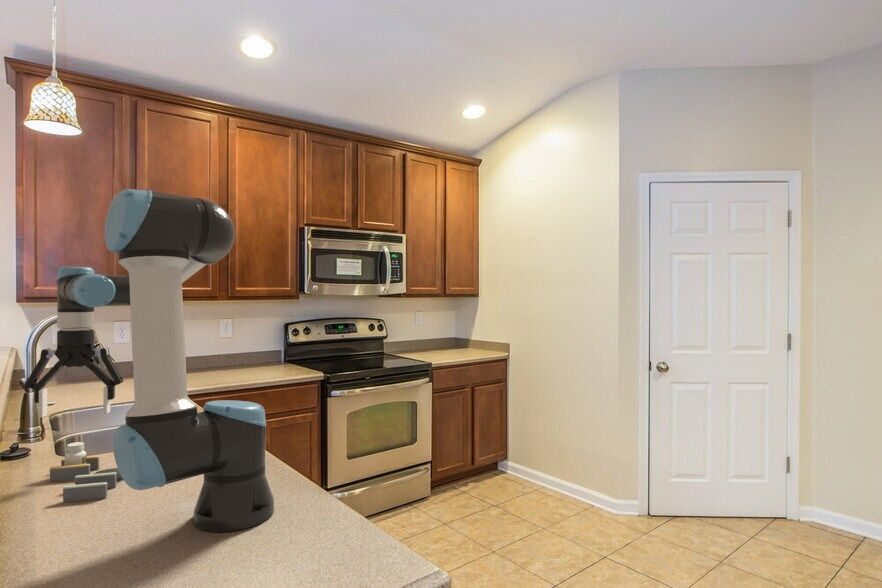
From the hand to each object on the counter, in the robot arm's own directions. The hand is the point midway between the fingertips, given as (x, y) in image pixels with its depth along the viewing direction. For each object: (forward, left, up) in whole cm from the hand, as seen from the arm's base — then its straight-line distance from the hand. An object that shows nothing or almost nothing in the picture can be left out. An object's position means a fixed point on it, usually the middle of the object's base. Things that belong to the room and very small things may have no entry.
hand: (75, 414), depth 127 cm
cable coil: (-6, -9, -15) cm, 19 cm away
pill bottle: (0, 0, -15) cm, 15 cm away
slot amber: (0, 0, -15) cm, 15 cm away
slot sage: (-15, -8, -15) cm, 23 cm away
